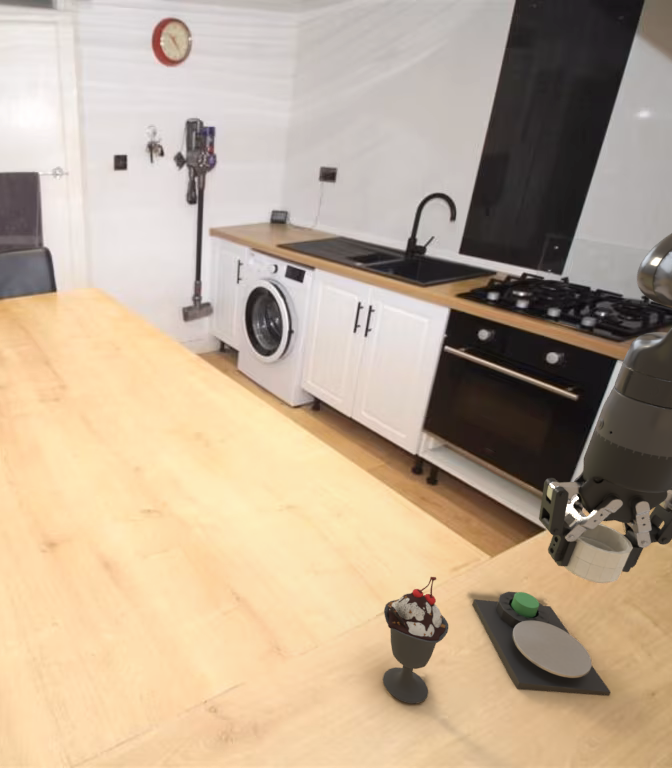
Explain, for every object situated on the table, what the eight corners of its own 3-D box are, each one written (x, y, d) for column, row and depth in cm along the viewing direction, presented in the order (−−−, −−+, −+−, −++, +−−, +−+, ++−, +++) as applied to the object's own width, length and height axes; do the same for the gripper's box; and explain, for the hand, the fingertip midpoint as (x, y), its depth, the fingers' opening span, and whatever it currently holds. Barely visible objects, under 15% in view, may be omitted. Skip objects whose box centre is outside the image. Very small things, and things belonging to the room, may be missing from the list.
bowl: (597, 552, 65) (610, 522, 63) (630, 588, 59) (645, 556, 58) (546, 548, 65) (557, 517, 63) (573, 583, 60) (587, 551, 58)
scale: (545, 611, 75) (552, 595, 74) (607, 700, 63) (615, 682, 62) (470, 604, 76) (475, 588, 75) (516, 690, 64) (523, 673, 63)
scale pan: (566, 625, 69) (567, 623, 69) (606, 681, 62) (607, 679, 62) (500, 619, 70) (501, 617, 70) (532, 674, 63) (533, 671, 63)
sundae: (438, 675, 66) (457, 574, 61) (432, 720, 60) (452, 612, 55) (380, 654, 69) (394, 556, 64) (370, 694, 63) (384, 591, 58)
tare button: (529, 602, 73) (532, 592, 73) (539, 619, 71) (543, 608, 70) (507, 600, 74) (510, 590, 73) (517, 616, 71) (520, 606, 70)
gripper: (588, 448, 53) (538, 582, 59) (751, 459, 51) (681, 594, 58) (547, 414, 60) (506, 537, 66) (690, 423, 58) (633, 548, 65)
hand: (588, 563), depth 62 cm, fingers closed on bowl, 6 cm apart
